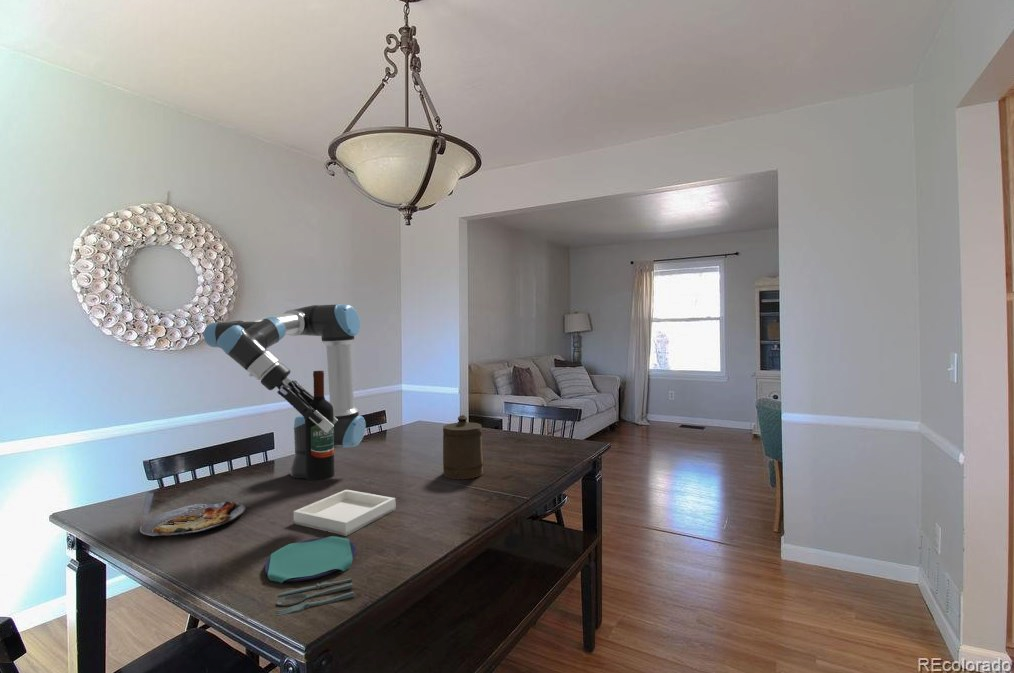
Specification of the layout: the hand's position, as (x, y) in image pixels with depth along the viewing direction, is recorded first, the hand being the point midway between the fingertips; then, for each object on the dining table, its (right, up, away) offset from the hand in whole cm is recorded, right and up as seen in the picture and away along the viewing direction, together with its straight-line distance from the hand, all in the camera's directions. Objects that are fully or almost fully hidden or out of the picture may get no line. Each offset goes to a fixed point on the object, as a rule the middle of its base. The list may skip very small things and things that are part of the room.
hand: (332, 426), depth 134 cm
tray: (+3, -27, +4) cm, 28 cm away
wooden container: (+33, -26, +43) cm, 61 cm away
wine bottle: (-3, -14, -1) cm, 15 cm away
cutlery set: (+6, -28, -29) cm, 40 cm away
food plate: (-40, -29, +1) cm, 49 cm away
